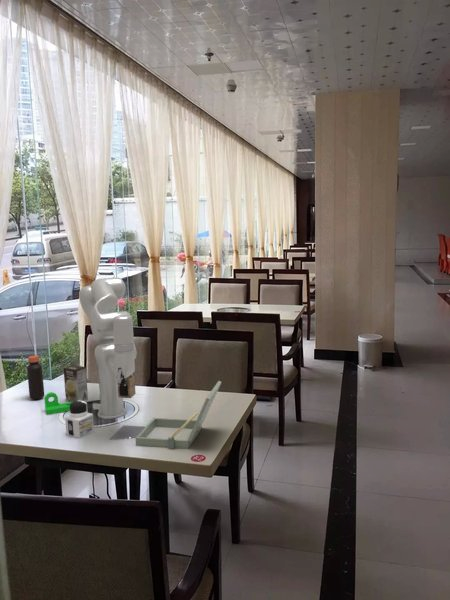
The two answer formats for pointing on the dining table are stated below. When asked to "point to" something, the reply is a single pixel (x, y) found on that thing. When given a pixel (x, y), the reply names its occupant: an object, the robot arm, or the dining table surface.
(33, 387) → the bottle
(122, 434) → the mat
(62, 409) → the mechanical part
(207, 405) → the case
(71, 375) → the coffee box
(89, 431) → the container
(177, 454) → the dining table surface
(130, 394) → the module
